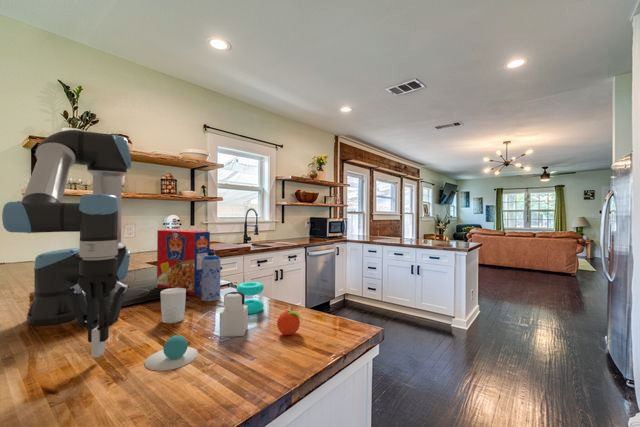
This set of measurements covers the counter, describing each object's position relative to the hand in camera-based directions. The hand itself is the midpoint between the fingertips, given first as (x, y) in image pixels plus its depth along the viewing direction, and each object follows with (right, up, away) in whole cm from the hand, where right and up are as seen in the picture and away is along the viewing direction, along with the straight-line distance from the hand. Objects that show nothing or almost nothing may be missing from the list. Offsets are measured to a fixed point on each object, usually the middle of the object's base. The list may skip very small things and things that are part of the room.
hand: (98, 354), depth 72 cm
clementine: (+45, -3, +18) cm, 48 cm away
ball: (+18, +1, +3) cm, 18 cm away
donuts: (+28, -2, +39) cm, 48 cm away
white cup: (+4, -2, +29) cm, 29 cm away
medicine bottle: (+28, -2, +19) cm, 34 cm away
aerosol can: (+7, -2, +55) cm, 55 cm away
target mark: (+17, -2, +2) cm, 17 cm away
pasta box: (-12, -2, +69) cm, 70 cm away
